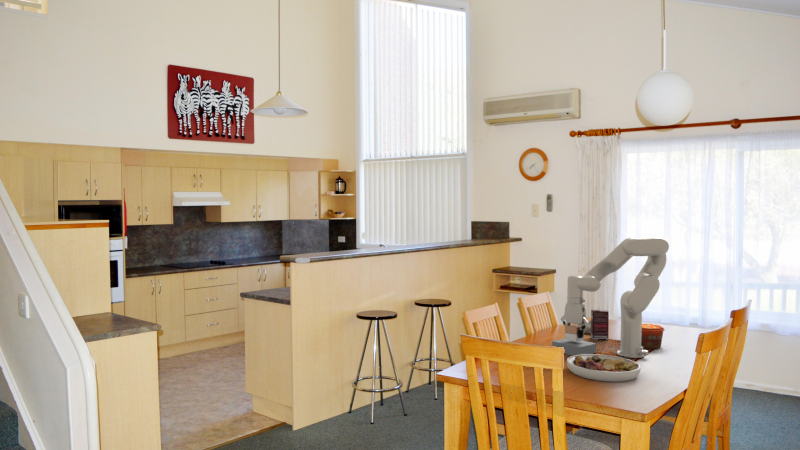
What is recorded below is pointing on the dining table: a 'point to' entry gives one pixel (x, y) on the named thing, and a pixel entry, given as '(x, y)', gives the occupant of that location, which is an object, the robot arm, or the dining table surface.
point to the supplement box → (599, 324)
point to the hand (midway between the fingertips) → (574, 336)
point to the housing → (572, 333)
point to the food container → (651, 336)
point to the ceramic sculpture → (588, 328)
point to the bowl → (603, 367)
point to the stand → (575, 347)
